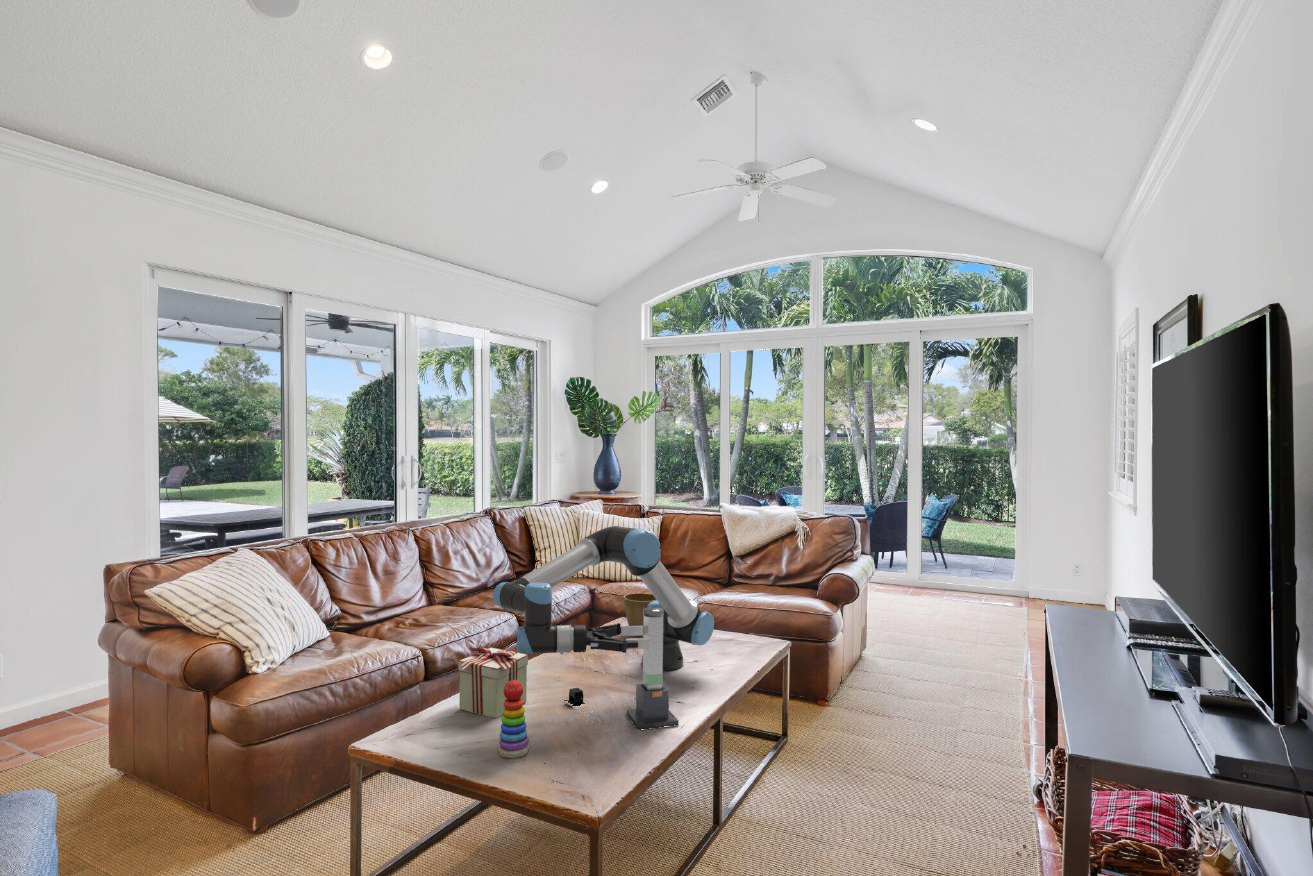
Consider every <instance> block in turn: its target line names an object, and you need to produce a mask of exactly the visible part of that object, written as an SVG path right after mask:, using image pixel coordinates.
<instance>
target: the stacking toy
mask: <svg viewBox="0 0 1313 876" xmlns="http://www.w3.org/2000/svg"><path fill="white" fill-rule="evenodd" d="M503 692H504V696H505V697H506V698H507V699H506V700H505V701H504V707H505V708H504V710H503V714H504V715H502V716H501V722H502V723H501V724H500V732H499V738H500V739H499V743H498V744H499V746H498V748H497V752H498V755H500V756H501V757H502V758H505V759H517V758H521V757H524V756H526V755H527V754H528V752H529V750H530V744H529V742H530V739H529V736H528V729H527V723H526V715H525V712H526V711H525V710H526V708H525V707H524V703H523V700H522V698H520V697H521V696H522V694H523V685H522V684H521V683H520V682H519V681H517V680H511V681H509V682H508V683H506V685H505V686H504V690H503Z"/></svg>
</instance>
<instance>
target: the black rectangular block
mask: <svg viewBox="0 0 1313 876" xmlns="http://www.w3.org/2000/svg"><path fill="white" fill-rule="evenodd" d="M568 698H569V700H564V701H568V703H570V704H573V705H572V706H580V705H581V704H585V703H584V702H585V701H584V691H583V690H582V689H581V688H579V687H574V688H569V692H568ZM583 701H584V702H583Z"/></svg>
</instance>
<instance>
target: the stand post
mask: <svg viewBox="0 0 1313 876" xmlns="http://www.w3.org/2000/svg"><path fill="white" fill-rule="evenodd" d="M643 615H644V630H643V637H642V638H649V639H650V649H642V656H643V665H642V684H643V688H644V690H645V691H646V692H647V691H657V690H662V684H663V681H664V680H663V679H664V678H663V677H664V676H663V675H664V673H663V671H664V670H663V616H664V609H662V608H657V607H649V608H644V609H643ZM663 685H664V684H663Z"/></svg>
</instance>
